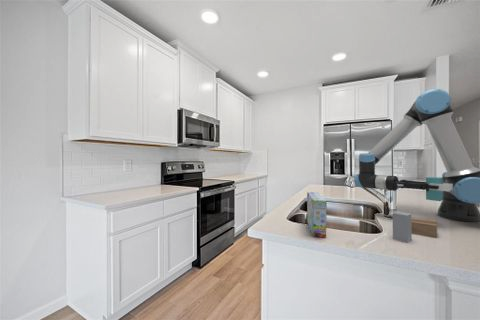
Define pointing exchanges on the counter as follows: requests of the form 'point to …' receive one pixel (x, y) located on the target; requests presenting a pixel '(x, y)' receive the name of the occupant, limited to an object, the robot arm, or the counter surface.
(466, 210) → the robot arm
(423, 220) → the walnut block
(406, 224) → the grey pillar
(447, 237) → the counter surface
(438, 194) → the teal pillar
